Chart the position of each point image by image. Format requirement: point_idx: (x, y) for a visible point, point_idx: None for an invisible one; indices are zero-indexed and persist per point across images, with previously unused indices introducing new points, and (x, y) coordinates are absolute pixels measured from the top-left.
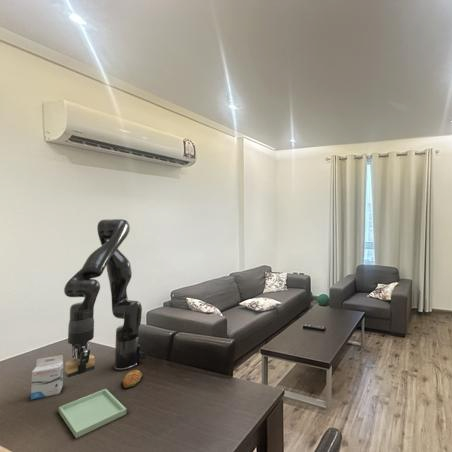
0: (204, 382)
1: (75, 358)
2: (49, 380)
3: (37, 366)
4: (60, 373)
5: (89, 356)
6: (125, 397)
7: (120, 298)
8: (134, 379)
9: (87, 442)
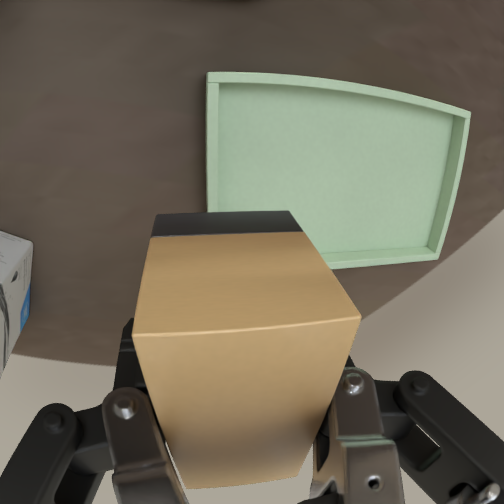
0: None
1: (171, 464)
2: (2, 321)
3: None
4: None
5: (238, 374)
6: (348, 36)
7: None
8: None
9: (463, 233)
